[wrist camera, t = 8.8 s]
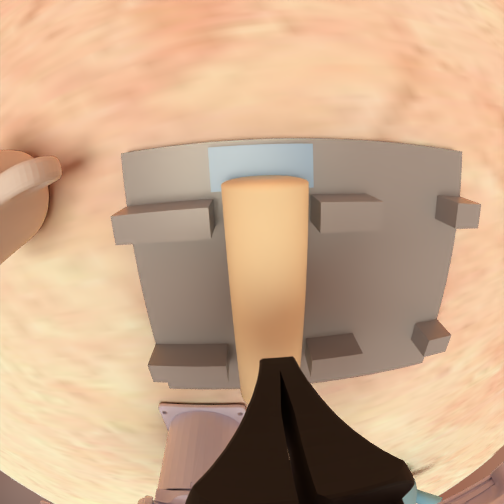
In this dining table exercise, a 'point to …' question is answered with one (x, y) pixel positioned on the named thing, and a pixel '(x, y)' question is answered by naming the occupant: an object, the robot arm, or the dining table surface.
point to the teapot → (420, 497)
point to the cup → (23, 197)
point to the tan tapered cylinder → (266, 268)
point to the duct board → (318, 253)
